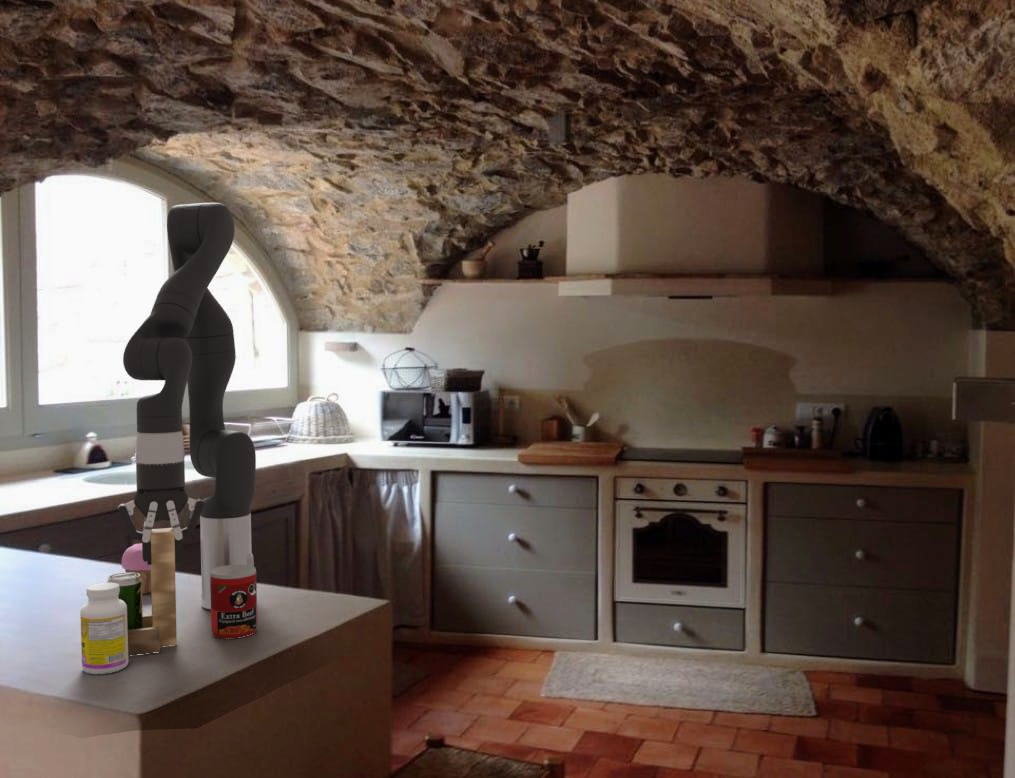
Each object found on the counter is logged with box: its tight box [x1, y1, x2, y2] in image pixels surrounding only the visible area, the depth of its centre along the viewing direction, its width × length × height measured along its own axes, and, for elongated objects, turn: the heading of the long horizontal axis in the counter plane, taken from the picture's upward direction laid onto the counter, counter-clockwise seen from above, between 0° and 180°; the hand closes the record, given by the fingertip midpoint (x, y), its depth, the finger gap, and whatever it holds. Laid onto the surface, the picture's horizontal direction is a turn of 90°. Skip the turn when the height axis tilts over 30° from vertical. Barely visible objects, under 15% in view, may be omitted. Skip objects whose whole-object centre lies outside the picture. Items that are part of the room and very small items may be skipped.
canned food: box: [210, 565, 258, 640], centre depth 171 cm, size 8×8×11 cm
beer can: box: [106, 572, 144, 630], centre depth 162 cm, size 5×5×12 cm
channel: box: [128, 613, 161, 657], centre depth 163 cm, size 10×9×4 cm
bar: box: [150, 527, 178, 648], centre depth 164 cm, size 4×4×19 cm
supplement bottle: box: [79, 582, 129, 675], centre depth 153 cm, size 7×7×13 cm
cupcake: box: [121, 542, 151, 595], centre depth 198 cm, size 9×9×10 cm
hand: (162, 562), depth 164 cm, fingers closed on bar, 3 cm apart
